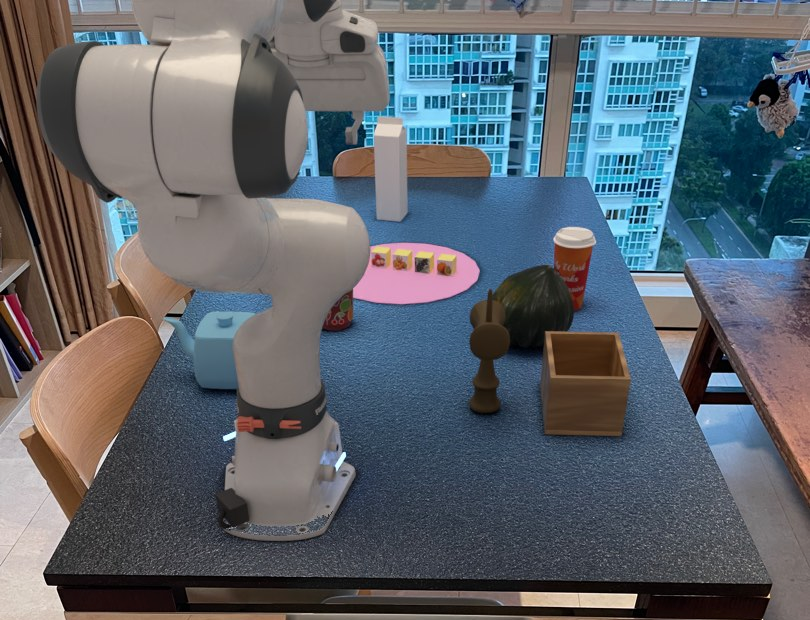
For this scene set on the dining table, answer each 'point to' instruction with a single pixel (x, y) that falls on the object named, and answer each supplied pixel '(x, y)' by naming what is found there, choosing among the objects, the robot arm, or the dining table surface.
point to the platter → (415, 274)
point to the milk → (390, 169)
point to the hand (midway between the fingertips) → (317, 142)
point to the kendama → (487, 351)
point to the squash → (534, 305)
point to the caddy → (584, 383)
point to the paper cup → (574, 260)
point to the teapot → (213, 348)
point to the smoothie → (340, 313)
